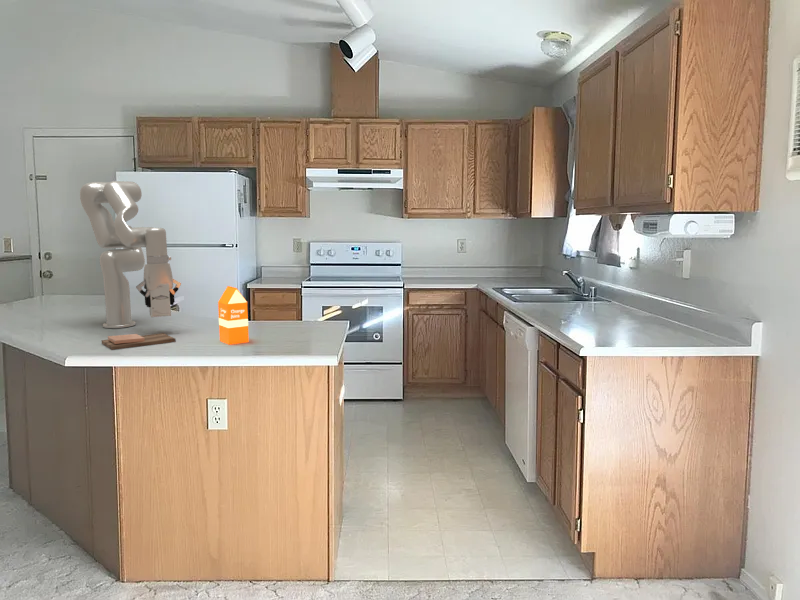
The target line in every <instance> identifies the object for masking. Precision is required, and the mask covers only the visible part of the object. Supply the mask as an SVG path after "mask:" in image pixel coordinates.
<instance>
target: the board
mask: <svg viewBox="0 0 800 600" xmlns="http://www.w3.org/2000/svg"><path fill="white" fill-rule="evenodd" d="M141 336H142V337H144V338H145V341H143V342H132V343H121V344H114V343H113V342H111V341H109V340H108V339H102V340H101V341H100V342H101V344H102V346H104V347H106V348H108V349H110V350H111V351H115V350H120V349H121V350H123V349H129V348H137V347H145V346H154V345H160V344H170V343H176V338H175V337H173V336H171V335H168V334H166V333H163V332H161V333H152V334H145V335H141Z"/></svg>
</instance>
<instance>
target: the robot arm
mask: <svg viewBox="0 0 800 600" xmlns="http://www.w3.org/2000/svg"><path fill="white" fill-rule="evenodd" d="M79 199H80V204H81V206H82V208H83V210H84V212H85V214H86V215H87V217H88V219H89V221H90V224H91V227H92V231H93V234H94V237H95V240H96V242H97V245H98V246H99V247H100V248H102V249H108V250H104V251H103V252H101V254H100V256H99V264H100V269H101V273H102V279H103V289H104V301H105V302H104V304H105V316H106V317H105V318H106V319H105V320H106V322H105V323H103V324H102V327H103V328H104V329H105V328H106V329H123V328H130V327H134V326H136V324H137V322H136V321H134V320H132V309H131V307H132V306H131V294H130V293H131V292H130V282H129V280H128V278H127V277H126V275H125V274H124V273H128V272H129V273H132V272H138V271H141V270H142V269H143V268H144V269H143V280H142V281H141V282H140V283H139V284H137V285H136V286H135V289H136V290H138V292H139V293H140V294H141V295H142V296H143V297H144V305H145V306H146V308H149V307H151V300H150V297H149V295H150V291H151V290H155V289H156V288H157V286H158V285H160V284H169V293H170V306H174V305H175V302H176V301H175V294H176V293H177V292H178V291H179V289H180V287H181V285H182V282H179V281H178V280H176V279H174V278H173V273H172V267H171V264H170V263H169V261H172V257H171V256H169V255H168V245H167V242H168V241H167V232H166V229H165V228H162V227H152V226H151V227H149V226H148V227H145V226H142V227H132V226H131V225H128V224H127V222H128V221H130V220H132V219H133V218H135V217H136V216H137V215H138V212H139V205H138V204H137V203H138V202H139V201H140V200H141V199H142V188H141V186H139V184H137V182H134V181H127V180H126V181H124V180H123V181H119V180H113V181H109V182H108V181H93V182H87V183H84V184H83V185H82V186H81V188H80V191H79ZM102 204H109V205H110V207H111V208H112V210H113V211H114V213H115V214H116V216H115V219H113V215H112V214H111V212H110V211H109V210H108V209H107V208H106V207H105V206H103V205H102ZM142 248H145V252H146V253H145V254H146V255H144V251H143V249H142ZM145 257H146V259H145ZM145 260H146V261H145ZM174 285H175V286H174ZM143 288H144V289H143Z"/></svg>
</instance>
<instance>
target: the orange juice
mask: <svg viewBox="0 0 800 600" xmlns="http://www.w3.org/2000/svg"><path fill="white" fill-rule="evenodd" d="M217 305H218V327H219V328H218V329H219V341H220V342H221V343H224V344H227V345H228V346H229V345H230V346H231V345H237V344H245V343H249V342H250V341H249V339H250V337H249V319H248V318H249V316H248V315H249V314H248V301H247V300H246V299H245V297H244V296H243V295H242V292H240V291H239V290H238V288H237V287H234V286H230V285H227V287H226V288H225V290H224V291H223V293H222V295H221V296H220V298H219V299H218V302H217Z"/></svg>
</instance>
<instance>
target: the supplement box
mask: <svg viewBox="0 0 800 600" xmlns="http://www.w3.org/2000/svg"><path fill="white" fill-rule="evenodd" d="M149 297H150V300H151V307H148V308H149V309H148V311H149V316H150V318H159V317H171V316H172V310H171V307H172V306H171V305H170V293H169V284H160V285H158V286H157V288H156V289H155V290H151V291H150V295H149Z"/></svg>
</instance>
